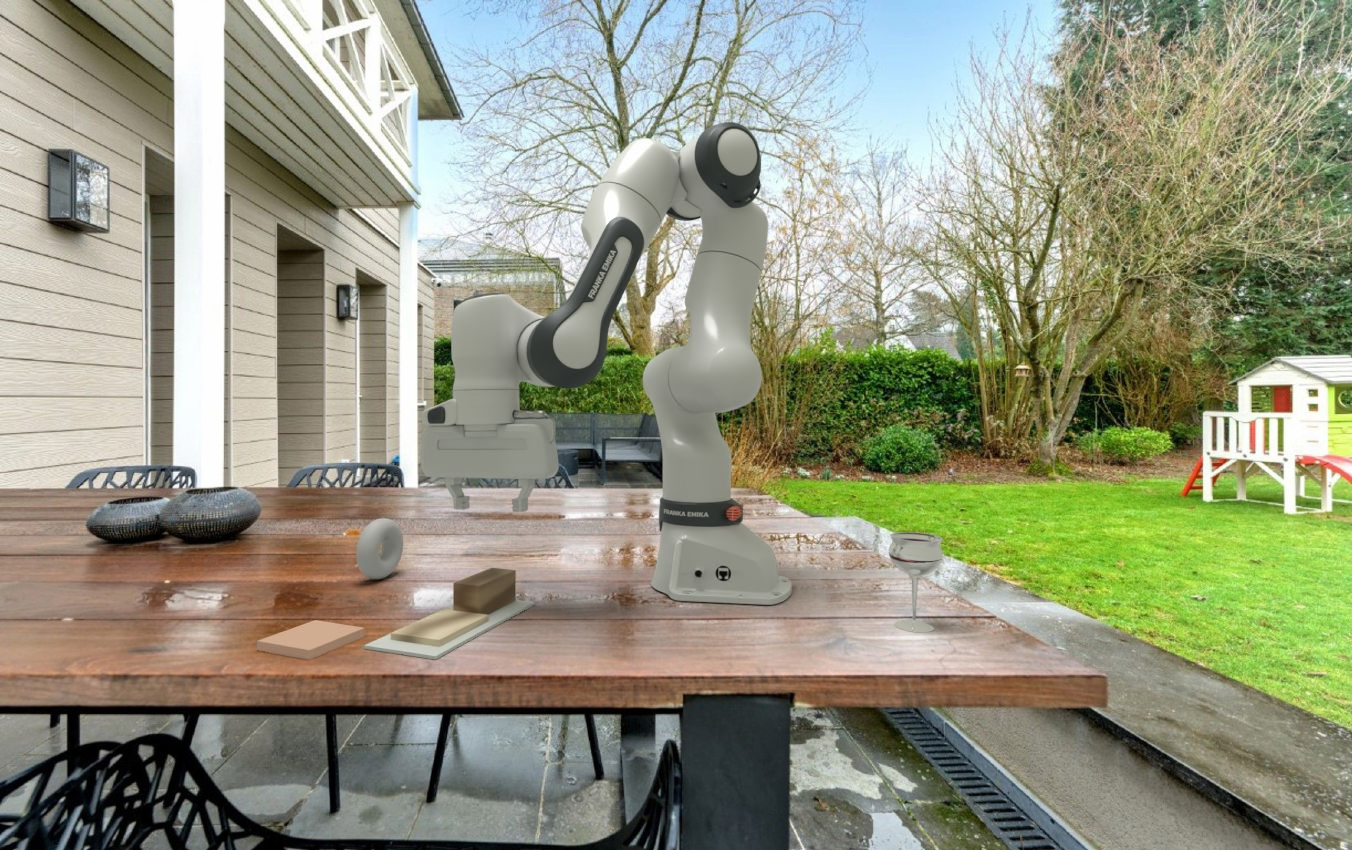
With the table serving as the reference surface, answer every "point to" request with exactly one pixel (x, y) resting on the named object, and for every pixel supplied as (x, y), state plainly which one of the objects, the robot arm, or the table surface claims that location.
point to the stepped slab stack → (463, 608)
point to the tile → (311, 639)
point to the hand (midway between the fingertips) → (490, 510)
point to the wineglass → (915, 566)
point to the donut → (370, 545)
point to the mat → (436, 652)
